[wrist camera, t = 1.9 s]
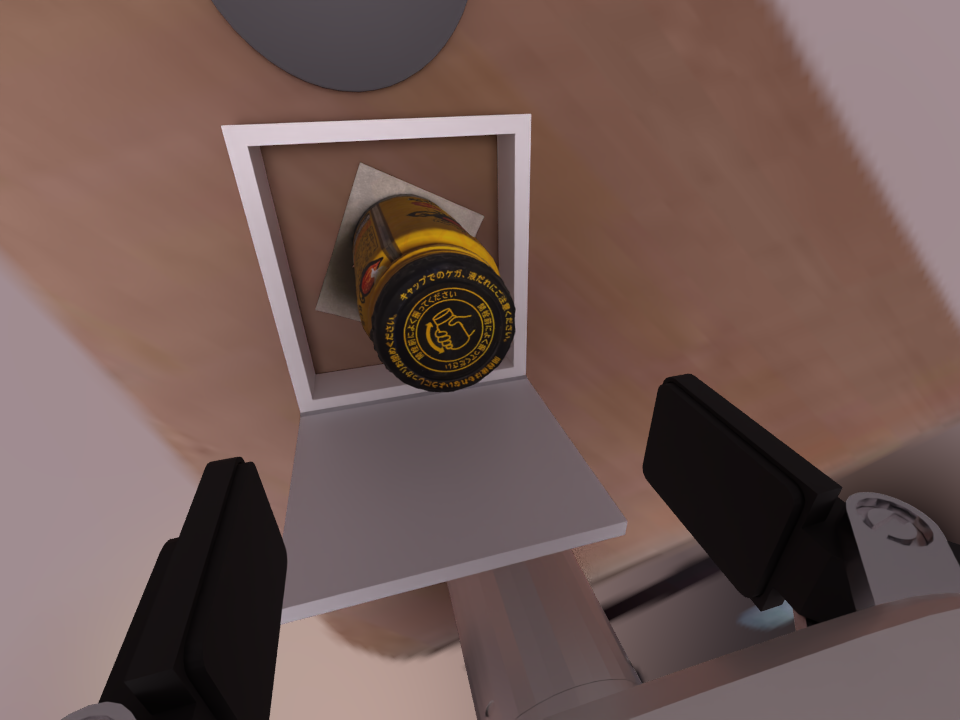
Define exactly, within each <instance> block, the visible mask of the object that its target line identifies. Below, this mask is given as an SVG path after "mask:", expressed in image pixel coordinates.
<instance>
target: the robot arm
mask: <svg viewBox="0 0 960 720" xmlns="http://www.w3.org/2000/svg"><path fill="white" fill-rule="evenodd" d="M643 473H644V476H645V478H646V479H647V481H648V482H649V483H650V485H651V486H652V487H653V488H654V489H655V491H656V492H657V493H658V494H659V496H660V497H661V498H662V499H663V500H664V502H665V503H666V504H667V505H668V506H669V508H670V509H671V510H672V511H673V513H674V514H675V515H676V516H677V517H678V519H679V520H680V521H681V522H682V523H683V525H684V526H685V527H686V528H687V530H688V531H689V532H690V533H691V534H692V536H693V537H694V538H695V539H696V540H697V542H698V543H699V544H700V545H701V547H702V548H703V549H704V550H705V551H706V553H707V554H708V555H709V556H710V557H711V559H712V560H713V561H714V562H715V564H716V565H717V566H718V567H719V568H720V570H721V571H722V572H723V573H724V574H725V576H726V577H727V578H728V579H729V581H730V582H731V583H732V584H733V585H734V586H735V588H736V589H737V590H738V591H739V592H740V593H741V594H742V595H743V596H745V597H747V598H750V599H751V600H752V601H753V602H754V604H755V605H756V606H757V607H758V609H759V610H760V611H764V610H767V609H770V608H773V607H776V606H779V605H782V604H783V602H784V600H786V601H787V602H788V603H789V604H790V606H791V607H792V608H793V613H794V620H795V628H796V631H795V632H792V633H789V634H786V635H783V636H780V637H777V638H775V639H771V640H768V641H765V642H763V643H760V644H757V645H754V646H751V647H748V648H745V649H742V650H739V651H736V652H733V653H731V654H727V655H725V656H721V657H718V658H716V659H713V660H710V661H707V662H704V663H701V664H698V665H695V666H692V667H690V668H687V669H684V670H681V671H678V672H675V673H672V674H669V675H666V676H664V677H661V678H658V679H655V680H652V681H649V682H646V683H643V684H642V683H641V681H640V679H639V677H638V675H637V673H636V672H635V670H634V668H633V666H632V664H631V662H630V660H629V658H628V656H627V654H626V653H625V651H624V649H623V647H622V645H621V643H620V641H619V639H618V637H617V636H616V634H615V632H614V630H613V628H612V626H611V624H610V622H609V620H608V619H607V617H606V615H605V613H604V611H603V609H602V607H601V605H600V603H599V601H598V600H597V598H596V596H595V594H594V592H593V590H592V588H591V586H590V584H589V582H588V580H587V579H586V577H585V575H584V573H583V571H582V569H581V567H580V565H579V563H578V561H577V560H576V558H575V556H574V554H573V552H572V550H571V549H568V550H564V551H560V552H557V553H553V554H549V555H545V556H541V557H538V558H534V559H530V560H526V561H522V562H518V563H515V564H511V565H507V566H503V567H499V568H495V569H492V570H488V571H484V572H480V573H476V574H472V575H469V576H465V577H461V578H457V579H453V580H449V581H447V584H448V589H449V593H450V598H451V603H452V607H453V612H454V616H455V621H456V625H457V630H458V634H459V639H460V643H461V648H462V652H463V657H464V662H465V666H466V671H467V675H468V680H469V684H470V689H471V693H472V698H473V702H474V707H475V711H476V716H477V720H960V545H959V544H956V543H952V542H949V541H946V538H945V536H944V534H943V533H942V531H941V530H940V529H939V527H938V526H937V525H936V524H935V523H934V522H933V521H932V520H931V519H930V518H929V517H927V516H926V515H925V514H924V513H922V512H921V511H919V510H917V509H916V508H914V507H912V506H911V505H909V504H907V503H905V502H902V501H900V500H898V499H896V498H892V497H889V496H886V495H883V494H877V493H871V492H864V493H863V492H862V493H856V494H853V495H851V496H850V497H849V498H848V500H847V501H846V502H844V501H842V500H841V499H840V498H838V495H839V493H840V491H841V489H842V487H841V486H840V485H839V484H837V483H836V482H835V481H833V480H832V479H831V478H829V477H828V476H827V475H825V474H824V473H823V472H821V471H820V470H819V469H817V468H816V467H815V466H813V465H812V464H811V463H809V462H808V461H807V460H806V459H804V458H803V457H802V456H800V455H799V454H798V453H796V452H795V451H794V450H792V449H791V448H790V447H788V446H787V445H786V444H784V443H783V442H782V441H780V440H779V439H778V438H776V437H775V436H774V435H772V434H771V433H770V432H768V431H767V430H766V429H764V428H763V427H762V426H760V425H759V424H758V423H756V422H755V421H754V420H752V419H751V418H750V417H749V416H747V415H746V414H745V413H743V412H742V411H741V410H739V409H738V408H737V407H735V406H734V405H733V404H731V403H730V402H729V401H727V400H726V399H725V398H723V397H722V396H721V395H719V394H718V393H717V392H715V391H714V390H713V389H711V388H710V387H709V386H707V385H706V384H705V383H703V382H702V381H701V380H699V379H698V378H697V377H695V376H694V375H692V374H684V375H678V376H673V377H668V378H666V379H665V380H664V382H663V384H662V385H660V387H659V389H658V392H657V397H656V402H655V407H654V412H653V417H652V422H651V427H650V432H649V437H648V441H647V446H646V451H645V456H644V461H643ZM287 563H288V562H287V551H286V547H285V544H284V542H283V539H282V536H281V534H280V531H279V528H278V525H277V523H276V520H275V517H274V515H273V512H272V509H271V507H270V504H269V501H268V498H267V496H266V493H265V490H264V488H263V485H262V482H261V480H260V477H259V474H258V472H257V469H256V466H255V464H254V463H253V462H247V463H245V462H244V460H243V459H242V457H234V458H229V459H224V460H218V461H213V462H209V463H208V464H207V466H206V467H205V470H204V473H203V475H202V478H201V480H200V483H199V486H198V488H197V491H196V494H195V496H194V499H193V502H192V504H191V507H190V509H189V512H188V515H187V517H186V520H185V523H184V525H183V528H182V530H181V533H180V536H179V537H178V538H174V539H170V540H168V541H167V542H166V543H165V545H164V546H163V548H162V550H161V552H160V554H159V556H158V559H157V561H156V564H155V566H154V569H153V571H152V573H151V576H150V578H149V581H148V583H147V586H146V588H145V590H144V593H143V595H142V598H141V600H140V603H139V605H138V608H137V610H136V612H135V615H134V617H133V620H132V622H131V625H130V627H129V629H128V632H127V634H126V637H125V639H124V642H123V644H122V647H121V649H120V651H119V654H118V657H117V659H116V661H115V664H114V666H113V668H112V671H111V673H110V676H109V678H108V681H107V683H106V686H105V688H104V690H103V693H102V695H101V698H100V700H99V703H98V704H93V705H88V706H86V707H84V708H82V709H80V710H78V711H75V712H73V713H71V714H69V715H68V716H66V717H64V718H63V719H61V720H269V716H270V708H271V699H272V690H273V682H274V674H275V666H276V657H277V649H278V641H279V632H280V624H281V615H282V607H283V599H284V590H285V582H286V573H287Z"/></svg>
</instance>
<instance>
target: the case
mask: <svg viewBox="0 0 960 720" xmlns="http://www.w3.org/2000/svg"><path fill="white" fill-rule="evenodd" d="M221 128H222V131H223V135H224V139H225V142H226V146H227V149H228V153H229V157H230V160H231V164H232V167H233V171H234V175H235V178H236V182H237V185H238V189H239V193H240V196H241V200H242V203H243V207H244V211H245V214H246V218H247V221H248V225H249V229H250V232H251V236H252V239H253V243H254V247H255V250H256V254H257V258H258V261H259V265H260V268H261V272H262V276H263V279H264V283H265V286H266V290H267V294H268V297H269V301H270V304H271V308H272V312H273V315H274V319H275V322H276V326H277V330H278V333H279V337H280V340H281V344H282V348H283V351H284V355H285V358H286V362H287V366H288V369H289V373H290V376H291V380H292V384H293V387H294V391H295V394H296V398H297V402H298V405H299V409H300V412H301V414H300V424H299V431H298V438H297V445H296V451H295V458H294V465H293V472H292V478H291V485H290V492H289V499H288V506H287V512H286V519H285V526H284V533H283V542H284V544H285V547H286V551H287V562H288V563H287V573H286V582H285V590H284V599H283V607H282V615H281V624H285V623H289V622H292V621H296V620H300V619H304V618H308V617H312V616H316V615H319V614H323V613H327V612H331V611H335V610H338V609H342V608H346V607H350V606H354V605H358V604H361V603H365V602H369V601H373V600H377V599H381V598H384V597H388V596H392V595H396V594H400V593H404V592H407V591H411V590H415V589H419V588H423V587H427V586H430V585H434V584H438V583H442V582H446V581H449V580H453V579H457V578H461V577H465V576H469V575H472V574H476V573H480V572H484V571H488V570H492V569H495V568H499V567H503V566H507V565H511V564H515V563H518V562H522V561H526V560H530V559H534V558H538V557H541V556H545V555H549V554H553V553H557V552H560V551H564V550H568V549H572V548H576V547H580V546H583V545H587V544H591V543H595V542H599V541H603V540H606V539H610V538H614V537H618V536H622V535H625V532H626V527H627V520H626V518H625V517H624V515H623V514H622V513H621V511H620V510H619V508H618V507H617V506H616V504H615V503H614V501H613V500H612V498H611V497H610V496H609V494H608V493H607V491H606V490H605V488H604V487H603V486H602V484H601V483H600V481H599V480H598V478H597V477H596V476H595V474H594V473H593V471H592V470H591V468H590V467H589V466H588V464H587V463H586V461H585V460H584V458H583V457H582V456H581V454H580V453H579V451H578V450H577V449H576V447H575V446H574V444H573V443H572V441H571V440H570V439H569V437H568V436H567V434H566V433H565V431H564V430H563V429H562V427H561V426H560V424H559V423H558V421H557V420H556V419H555V417H554V416H553V414H552V413H551V411H550V410H549V409H548V407H547V406H546V404H545V403H544V401H543V400H542V399H541V397H540V396H539V394H538V393H537V392H536V390H535V389H534V387H533V386H532V384H531V383H530V382H529V380H528V379H527V376H526V340H527V292H528V243H529V194H530V146H531V114H508V115H481V116H455V117H428V118H402V119H376V120H349V121H323V122H296V123H270V124H243V125H224V126H221ZM493 134H497V168H498V251H499V274H500V277H501V278H502V280H503V281H504V284H505V286H506V287H507V289H508V291H509V292H510V295H511V297H512V299H513V301H514V305H515V308H516V312H515V329H516V332H515V335H514V339H513V341H512V343H511V346H510V349H509V350H508V352H507V354H506V356H505V358H504V359H503V360H502V362H501V363H500V365H499V366H498V367H497V368H496V369H494V370H493V371H492V372H491V373H490V374H489V375H487V376H486V377H484V378H483V379H482V380H481V381H480V382H478V383H476V384H474V385H472V386H469V387H466V388H463V389H460V390H457V391H454V392H428V391H425V390H422V389H417V388H414V387H412V386H410V385H407V384H404V383H403V382H402V381H400V380H399V379H398V378H396V377H395V375H394V374H393V373H391V372H389V371H388V370H387V369H386V368H385V365H384V364H380V365H374V366H367V367H360V368H354V369H347V370H341V371H334V372H328V373H321V374H315V370H314V366H313V362H312V358H311V354H310V350H309V346H308V341H307V337H306V333H305V329H304V325H303V321H302V317H301V313H300V309H299V305H298V301H297V297H296V292H295V288H294V284H293V280H292V276H291V272H290V268H289V264H288V260H287V256H286V252H285V248H284V244H283V239H282V235H281V231H280V227H279V223H278V219H277V215H276V211H275V207H274V203H273V199H272V195H271V190H270V186H269V182H268V178H267V174H266V170H265V166H264V162H263V158H262V154H261V150H260V146H261V145H282V144H303V143H324V142H346V141H367V140H388V139H409V138H430V137H451V136H472V135H493ZM281 624H280V625H281Z"/></svg>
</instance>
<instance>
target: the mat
mask: <svg viewBox="0 0 960 720" xmlns="http://www.w3.org/2000/svg"><path fill="white" fill-rule="evenodd" d="M212 2H213V3H214V5H215V6H216V8H217V9H218V10H219V12H220V13H221V14H222V15H223V16H224V18H225V19H226V20H227V21H228V23H229V24H230V25H231V26H232V27H233V29H234V30H235V31H236V32H237V33H238V34H239V35H240V36H241V37H242V38H243V39H244V40H245V41H246V42H248V43H249V44H250V45H251V46H252V47H253V48H254V49H255V50H257V51H258V52H259V53H260V54H262V55H263V56H264V57H265V58H267V59H268V60H269V61H270V62H272V63H273V64H275V65H277V66H278V67H280V68H281V69H283V70H284V71H286V72H288V73H289V74H291V75H293V76H295V77H297V78H300V79H302V80H304V81H306V82H308V83H311V84H314V85H317V86H320V87H323V88H328V89H333V90H338V91H350V92H362V91H372V90H377V89H381V88H385V87H389V86H392V85H394V84H396V83H398V82H401V81H403V80H405V79H407V78H408V77H410V76H411V75H413V74H414V73H416V72H418V71H419V70H421V69H422V68H423V67H424V66H425V65H426V64H428V63H429V62H430V61H431V60H432V59H433V58H434V57H435V56H436V55H437V54H438V52H439V51H440V50H441V49H442V48H443V47H444V45H445V44H446V42H447V41H448V39H449V38H450V36H451V35H452V33H453V32H454V30H455V28H456V26H457V24H458V22H459V20H460V18H461V16H462V14H463V11H464V8H465V6H466V3H467V0H212Z"/></svg>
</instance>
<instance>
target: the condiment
mask: <svg viewBox="0 0 960 720" xmlns="http://www.w3.org/2000/svg"><path fill="white" fill-rule="evenodd" d="M483 218H484V216H483V215H481V214H478V213H476V212H474V211H471V210H469V209H467V208H465V207H462V206H460V205H457V204H455V203H453V202H451V201H448V200H446V199H444V198H441V197H439V196H437V195H435V194H432V193H430V192H428V191H425V190H423V189H421V188H418V187H416V186H414V185H411V184H409V183H407V182H404V181H402V180H400V179H397V178H395V177H393V176H390V175H388V174H386V173H383V172H381V171H379V170H376V169H374V168H372V167H369V166H367V165H365V164H363V163H360V164H359V168H358V171H357V174H356V178H355V181H354V184H353V187H352V191H351V194H350V197H349V200H348V204H347V207H346V210H345V213H344V217H343V220H342V223H341V227H340V230H339V233H338V237H337V240H336V243H335V247H334V250H333V253H332V257H331V260H330V263H329V266H328V269H327V273H326V276H325V279H324V283H323V286H322V290H321V293H320V296H319V299H318V303H317V306H316V309H315V310H318V311H322V312H325V313H330V314H335V315H338V316H342V317H345V318H349V319H352V320H356V321H360V322H361V323H362V325H363V328H364V330H365V332H366V333H367V335H368V336H369V338H370V339H371V340H372V342H373V343H374V349H375V351H377V353H378V357H379V359H380V361H381V362H383V363H384V365H385V368H386V369H387V370H388V371H389V372H391V373H393V374H394V375H395V377H396V378H398V379H399V380H400V381H402V382H403V383H404V384H407V385H410V386H412V387H414V388H417V389H422V390H425V391H428V392H454V391H457V390H460V389H463V388H466V387H469V386H472V385H474V384H476V383H478V382H480V381H481V380H482V379H483V378H484V377H486V376H487V375H489V374H490V373H491V372H492V371H493V370H494V369H496V368H497V367H498V366H499V365H500V363H501V362H502V360H503V359H504V358H505V356H506V354H507V352H508V350H509V349H510V346H511V343H512V341H513V339H514V335H515V332H516V329H515V312H516V308H515V305H514V301H513V299H512V297H511V295H510V292H509V291H508V289H507V287H506V286H505V284H504V281H503V280H502V278H501V277H500V274H499V271H498V268H497V266H496V264H495V262H494V259H493V258H492V256H491V255H490V254H489V253H488V252H487V250H486V249H485V248H484V247H483V246H482V245H481V244H480V242H479V241H478V240H477V239H476V238H475V236H476V233H477V231H478V229H479V226H480V224H481V222H482V220H483ZM353 265H354V267H353Z"/></svg>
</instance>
